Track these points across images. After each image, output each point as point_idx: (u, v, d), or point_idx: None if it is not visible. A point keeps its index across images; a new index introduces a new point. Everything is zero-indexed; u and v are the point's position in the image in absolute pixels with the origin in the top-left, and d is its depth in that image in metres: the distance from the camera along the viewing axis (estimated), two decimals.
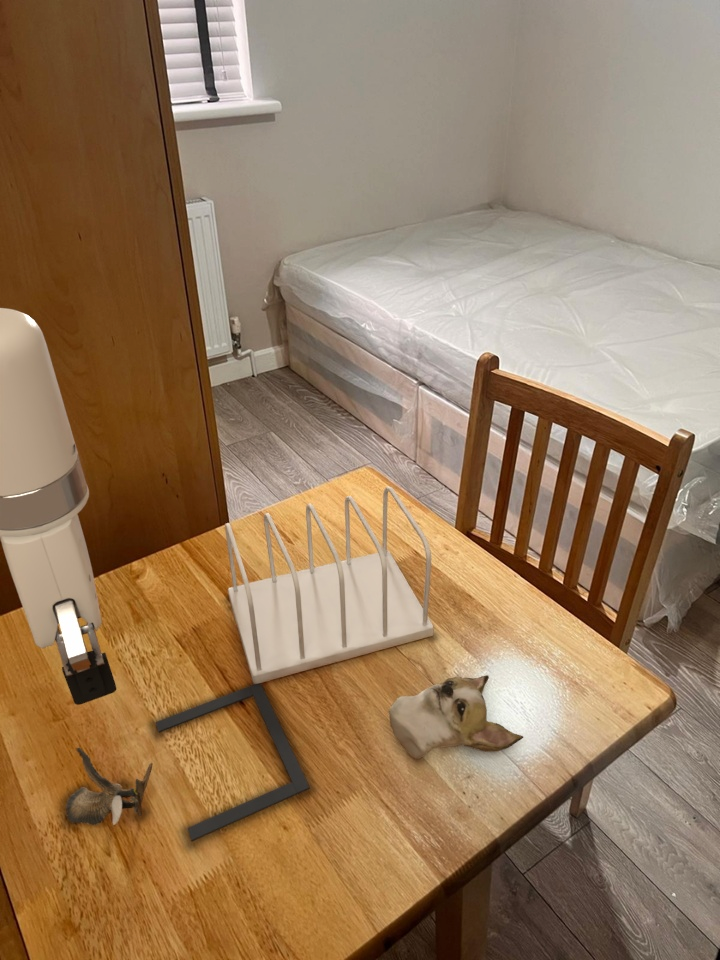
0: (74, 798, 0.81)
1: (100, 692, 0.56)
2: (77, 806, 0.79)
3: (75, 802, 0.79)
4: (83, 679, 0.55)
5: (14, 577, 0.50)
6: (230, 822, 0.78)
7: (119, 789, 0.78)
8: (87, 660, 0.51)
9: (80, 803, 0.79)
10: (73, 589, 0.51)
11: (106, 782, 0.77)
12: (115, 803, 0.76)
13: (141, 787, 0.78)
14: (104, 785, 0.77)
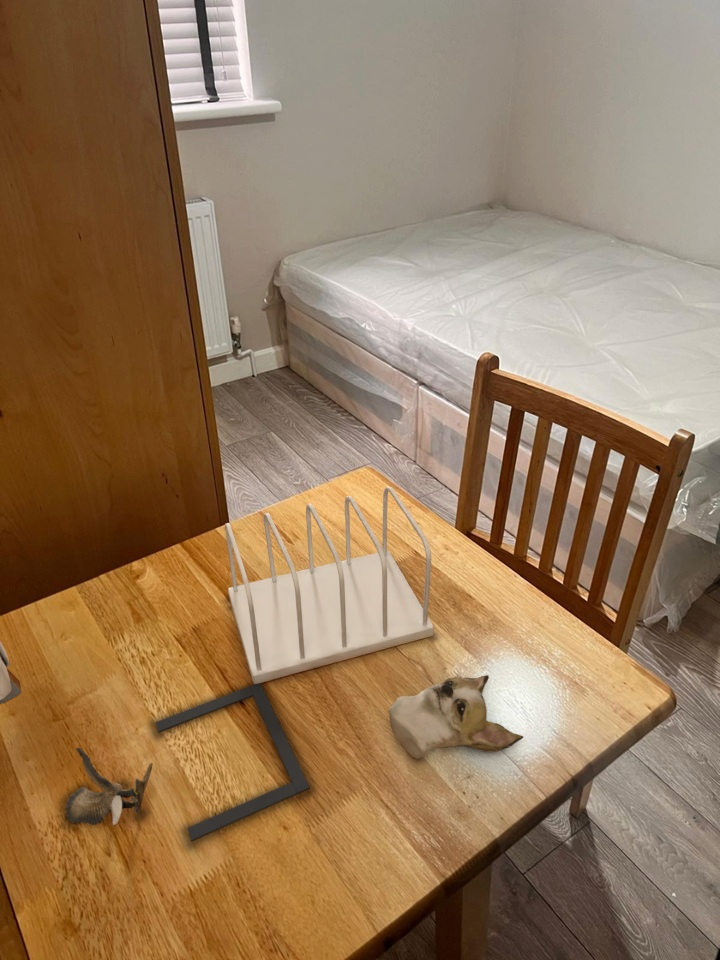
0: (74, 798, 0.81)
1: None
2: (77, 806, 0.79)
3: (75, 802, 0.79)
4: None
5: None
6: (230, 822, 0.78)
7: (119, 789, 0.78)
8: None
9: (80, 803, 0.79)
10: None
11: (106, 782, 0.77)
12: (115, 803, 0.76)
13: (141, 787, 0.78)
14: (104, 785, 0.77)
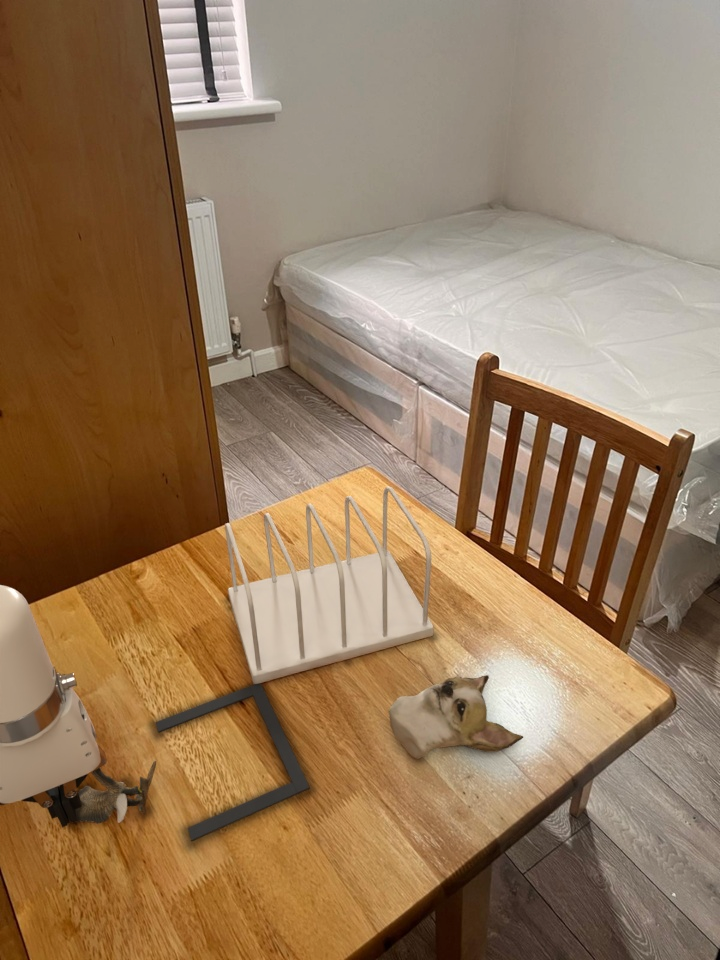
0: None
1: None
2: (81, 805, 0.79)
3: None
4: None
5: None
6: (230, 822, 0.78)
7: (123, 787, 0.79)
8: (5, 803, 0.73)
9: (84, 802, 0.79)
10: None
11: (110, 780, 0.77)
12: (120, 801, 0.76)
13: (145, 785, 0.79)
14: (108, 783, 0.78)
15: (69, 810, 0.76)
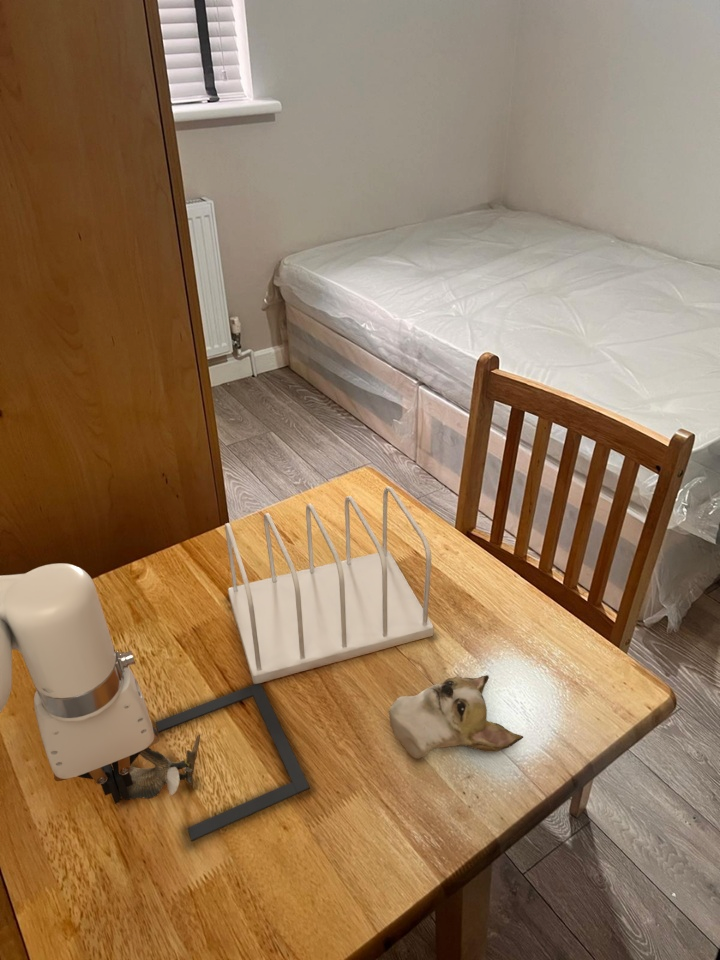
0: None
1: None
2: None
3: None
4: None
5: None
6: (230, 822, 0.78)
7: (171, 762, 0.81)
8: (62, 779, 0.75)
9: (133, 780, 0.81)
10: None
11: (159, 756, 0.80)
12: (171, 774, 0.79)
13: (192, 758, 0.81)
14: (157, 759, 0.80)
15: (122, 787, 0.78)
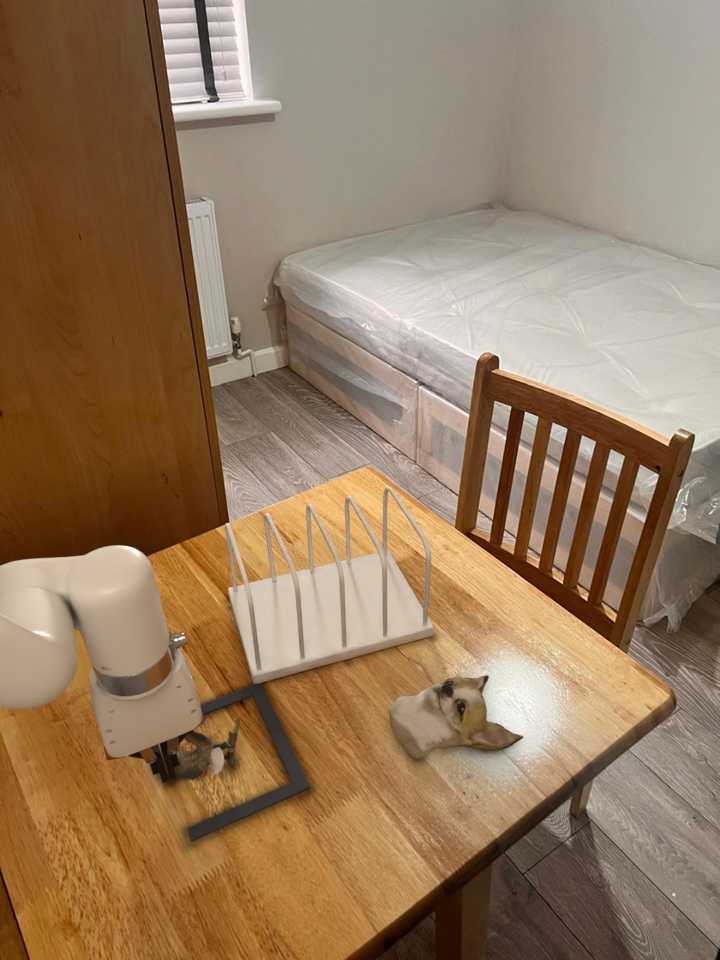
0: None
1: None
2: None
3: None
4: None
5: None
6: (230, 822, 0.78)
7: (213, 743, 0.83)
8: (113, 758, 0.77)
9: None
10: (98, 724, 0.73)
11: (203, 737, 0.81)
12: (215, 755, 0.81)
13: (234, 739, 0.83)
14: (200, 741, 0.82)
15: (170, 766, 0.80)
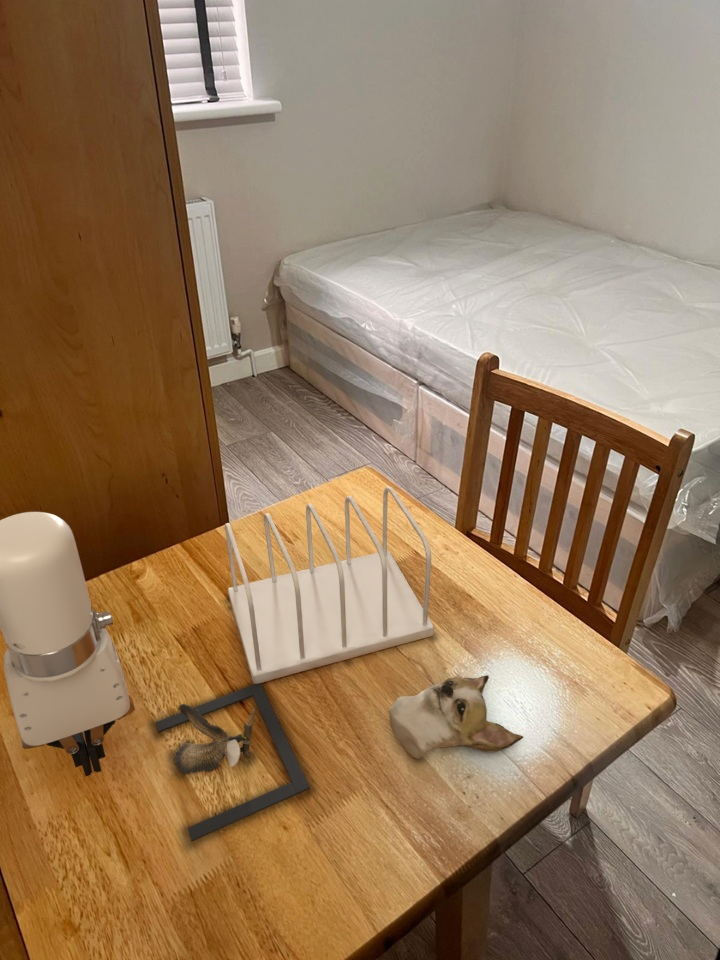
0: (181, 753, 0.85)
1: (75, 764, 0.75)
2: (189, 758, 0.83)
3: (185, 755, 0.84)
4: None
5: None
6: (230, 822, 0.78)
7: (228, 736, 0.83)
8: (31, 747, 0.71)
9: (192, 754, 0.83)
10: (12, 708, 0.67)
11: (218, 729, 0.82)
12: (230, 747, 0.81)
13: (249, 731, 0.84)
14: (216, 733, 0.82)
15: (94, 758, 0.74)
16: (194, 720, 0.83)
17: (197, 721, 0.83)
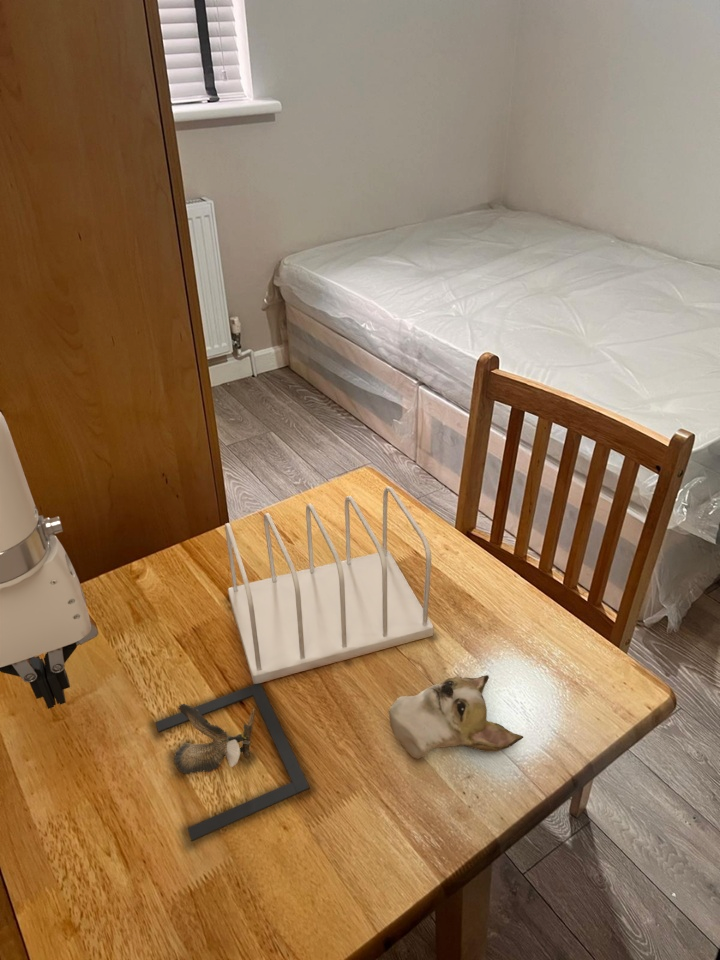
0: (181, 753, 0.85)
1: None
2: (189, 758, 0.83)
3: (185, 755, 0.84)
4: None
5: None
6: (230, 822, 0.78)
7: (228, 736, 0.83)
8: None
9: (192, 754, 0.83)
10: None
11: (218, 730, 0.82)
12: (230, 747, 0.81)
13: (249, 731, 0.84)
14: (216, 733, 0.82)
15: (55, 688, 0.67)
16: (194, 720, 0.83)
17: (197, 721, 0.83)
